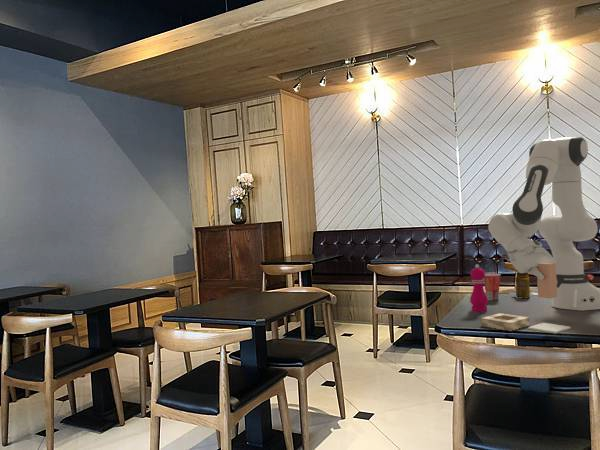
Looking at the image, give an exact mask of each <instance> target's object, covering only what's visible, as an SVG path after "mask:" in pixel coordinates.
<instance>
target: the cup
mask: <svg viewBox="0 0 600 450" xmlns="http://www.w3.org/2000/svg"><path fill="white" fill-rule="evenodd" d="M501 275H502V274H501V273H492V272H491V273H485V277H484V278H483V279H484V283H483V286H484V289H485V290H484V292H485V294H486V296H487V298H488V301H497V300H499V295H500V284H501V283H500V282H501Z"/></svg>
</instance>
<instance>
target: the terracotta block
mask: <svg viewBox="0 0 600 450" xmlns="http://www.w3.org/2000/svg"><path fill="white" fill-rule="evenodd" d="M537 269H538V271H540V272H541V273H543V274H544V275H545V276H546V278H545V279H544V280H540V279H539V278H538V277H537V276H536V277H537V278H536V279H537V280H536V281H537V282H536V283H537V297H538V298H542V299H543V298H544V299H553V298H554V297H557V279H556V263H545V262H544V263H538V267H537Z"/></svg>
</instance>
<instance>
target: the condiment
mask: <svg viewBox="0 0 600 450" xmlns="http://www.w3.org/2000/svg"><path fill="white" fill-rule="evenodd" d="M515 274H516V275H515V296H517V297H522V298H526V297H530V296H531V289H530V288H531V287H530V286H531V285H530V278H529V272H527V273H520V272H518V271H516V273H515ZM530 298H531V297H530Z"/></svg>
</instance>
